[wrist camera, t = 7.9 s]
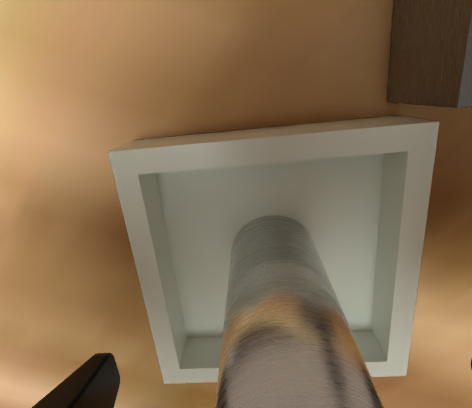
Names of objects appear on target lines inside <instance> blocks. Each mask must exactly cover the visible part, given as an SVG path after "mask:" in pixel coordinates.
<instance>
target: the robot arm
mask: <svg viewBox="0 0 472 408" xmlns="http://www.w3.org/2000/svg"><path fill="white" fill-rule="evenodd" d="M471 368H472V360H471ZM119 385H120V375H119V371H118V368H117V365H116V362H115V358H114V356H113V355H112V354H111V353H98V354H95V355H94V356H92V357H91V358H90V359H89V360H88V361H86V362H85V363H84V364H83V365H82V366H80V367H79V368H78V369H77V370H76V371H74V372H73V373H72V374H71V375H70V376H69V377H67V378H66V379H65V380H64V381H63V382H61V383H60V384H59V385H58V386H57V387H56V388H54V389H53V390H52V391H51V392H50V393H48V394H47V395H46V396H45V397H44V398H43V399H41V400H40V401H39V402H38V403H37V404H35V405H34V406H33V407H32V408H114V404H115V400H116V396H117V393H118V389H119Z"/></svg>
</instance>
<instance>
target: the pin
mask: <svg viewBox="0 0 472 408" xmlns="http://www.w3.org/2000/svg"><path fill="white" fill-rule="evenodd" d="M215 408H384V406H383V404H382V402H381V399H380V397H379V395H378V392H377V390H376V387H375V385H374V383H373V380H372V378H371V376H370V373H369V371H368V369H367V366H366V364H365V362H364V359H363V357H362V355H361V352H360V350H359V348H358V345H357V343H356V341H355V338H354V336H353V334H352V331H351V329H350V326H349V324H348V322H347V319H346V317H345V315H344V312H343V310H342V308H341V305H340V303H339V301H338V298H337V296H336V294H335V291H334V289H333V287H332V284H331V282H330V280H329V277H328V275H327V273H326V270H325V268H324V265H323V263H322V261H321V258H320V256H319V254H318V251H317V249H316V247H315V244H314V242H313V240H312V237H311V235H310V234H309V232H308V231H307V230H306V228H305V227H304V226H302V225H301V224H300V223H299V222H297V221H295V220H293V219H291V218H288V217H284V216H278V215H269V216H263V217H259V218H257V219H254V220H252V221H250V222H249V223H247V224H246V225H245V226H244V227H242V228H241V230H240V231H239V232H238V233H237V235H236V237H235V239H234V241H233V244H232V251H231V260H230V269H229V279H228V288H227V297H226V307H225V316H224V325H223V335H222V344H221V354H220V363H219V372H218V382H217V391H216V400H215Z"/></svg>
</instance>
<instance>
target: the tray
mask: <svg viewBox="0 0 472 408" xmlns="http://www.w3.org/2000/svg"><path fill="white" fill-rule="evenodd" d="M439 122H440V121H433V120H427V119H421V118H415V117H409V116H402V115H395V116H384V117H374V118H363V119H352V120H342V121H331V122H321V123H310V124H299V125H289V126H278V127H267V128H257V129H246V130H236V131H225V132H214V133H204V134H193V135H182V136H172V137H161V138H151V139H140V140H134V141H132V142H130V143H127V144H125V145H123V146H120V147H118V148H116V149H113V150H111V151H109V152H108V155H109V159H110V163H111V167H112V172H113V176H114V180H115V184H116V188H117V192H118V196H119V200H120V204H121V208H122V212H123V217H124V221H125V225H126V229H127V233H128V237H129V241H130V245H131V249H132V253H133V257H134V262H135V266H136V270H137V274H138V278H139V282H140V286H141V290H142V294H143V298H144V303H145V307H146V311H147V315H148V319H149V323H150V327H151V331H152V335H153V339H154V343H155V348H156V352H157V356H158V360H159V364H160V368H161V372H162V376H163V380H164V384H173V383H203V382H218V372H219V363H220V354H221V344H222V335H223V325H224V316H225V307H226V297H227V288H228V279H229V269H230V260H231V251H232V244H233V241H234V239H235V237H236V235H237V233H238V232H239V231H240V230H241V228H242V227H244V226H245V225H246V224H247V223H249V222H250V221H252V220H254V219H257V218H259V217H263V216H269V215H278V216H284V217H288V218H291V219H293V220H295V221H297V222H299V223H300V224H301V225H302V226H304V227H305V228H306V230H307V231H308V232H309V234H310V235H311V237H312V240H313V242H314V244H315V247H316V249H317V251H318V254H319V256H320V258H321V261H322V263H323V265H324V268H325V270H326V273H327V275H328V277H329V280H330V282H331V284H332V287H333V289H334V291H335V294H336V296H337V298H338V301H339V303H340V305H341V308H342V310H343V312H344V315H345V317H346V319H347V322H348V324H349V326H350V329H351V331H352V334H353V336H354V338H355V341H356V343H357V345H358V348H359V350H360V352H361V355H362V357H363V359H364V362H365V364H366V366H367V369H368V371H369V373H370V376H371V377H384V376H406V373H407V365H408V358H409V350H410V342H411V335H412V327H413V320H414V312H415V304H416V297H417V289H418V282H419V274H420V266H421V259H422V251H423V244H424V236H425V228H426V221H427V213H428V206H429V198H430V190H431V183H432V175H433V168H434V160H435V152H436V145H437V137H438V130H439Z"/></svg>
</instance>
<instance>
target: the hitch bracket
mask: <svg viewBox="0 0 472 408" xmlns="http://www.w3.org/2000/svg"><path fill="white" fill-rule="evenodd" d="M387 102H391V103H403V104H415V105H427V106H439V107H452V108H463V107H472V0H394V6H393V20H392V34H391V48H390V62H389V76H388V90H387Z"/></svg>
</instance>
